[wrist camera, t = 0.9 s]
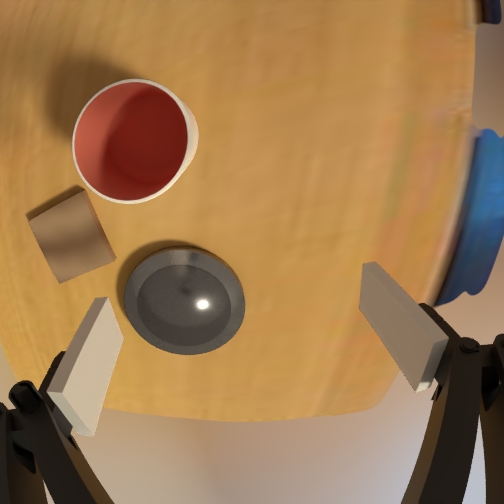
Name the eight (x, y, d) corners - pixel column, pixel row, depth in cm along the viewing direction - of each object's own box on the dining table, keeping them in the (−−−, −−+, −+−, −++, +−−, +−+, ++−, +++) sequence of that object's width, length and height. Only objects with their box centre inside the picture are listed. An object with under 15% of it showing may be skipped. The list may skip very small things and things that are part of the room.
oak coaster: (32, 218, 31) (28, 221, 30) (85, 189, 31) (81, 191, 30) (63, 279, 35) (59, 283, 34) (116, 257, 35) (113, 261, 33)
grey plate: (115, 252, 34) (111, 257, 33) (239, 240, 36) (240, 245, 34) (142, 350, 40) (140, 358, 38) (247, 342, 41) (248, 350, 40)
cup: (187, 191, 33) (175, 215, 24) (102, 174, 31) (63, 192, 22) (209, 102, 29) (206, 90, 20) (121, 87, 27) (86, 72, 18)
